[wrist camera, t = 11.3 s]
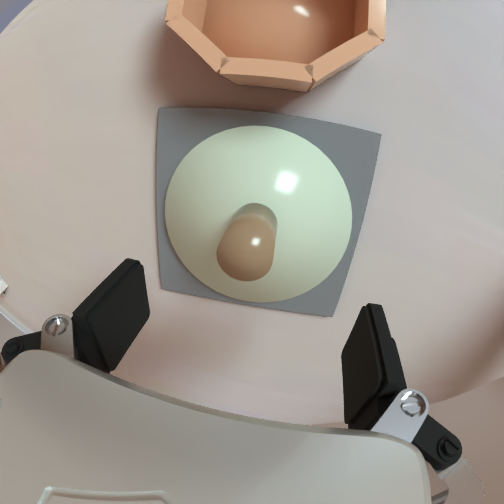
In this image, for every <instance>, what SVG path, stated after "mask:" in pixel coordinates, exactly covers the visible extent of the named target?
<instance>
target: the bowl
mask: <svg viewBox="0 0 504 504" xmlns="http://www.w3.org/2000/svg"><path fill="white" fill-rule="evenodd" d="M385 20H386V0H169V2H168V7H167V12H166V18H165V21H166V22H167V23H166V24H167V25H168V26H169V27H170V28H171V29H172V30H174V31H175V32H176V33H177V34H178V35H179V36H180V37H181V38H182V39H183V40H184V41H185V42H186V43H187V44H188V45H189V46H191V47H192V48H193V49H194V50H195V51H196V52H197V53H198V54H199V55H200V56H201V57H202V58H203V59H204V60H205V61H206V62H207V63H208V64H209V65H210V66H211V67H212V69H213V70H214V71H215V72H217V73H218V74H220V75H222V76H223V77H225V78H227V79H228V80H230V81H231V82H233V83H235V84H237V85H251V86H262V87H272V88H281V89H288V90H295V91H302V92H306V91H307V90H308V91H311V90H312V89H314V88H315V87H317V86H318V85H320V84H322V83H323V82H325V81H326V80H328V79H329V78H331V77H333V76H334V75H336V74H337V73H339V72H341V71H342V70H344V69H346V68H347V67H349V66H351V65H352V64H354V63H356V62H357V61H359V60H361V59H362V58H364V57H365V56H366V55H367V54H369V53H370V52H371V51H373V50H374V49H375V48H376V47H378V46H379V45H380V44H382V43H383V41H384V40H385Z"/></svg>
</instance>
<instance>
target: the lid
mask: <svg viewBox="0 0 504 504" xmlns="http://www.w3.org/2000/svg"><path fill="white" fill-rule="evenodd" d="M165 220H166V227H167V231H168V235H169V238H170V241H171V243H172V246H173V248H174V250H175V252H176V254H177V255H178V257H179V258H180V260H181V261H182V263H183V264H184V265H185V266H186V268H187V269H188V270H189V271H190V272H191V273H192V274H193V275H194V276H195V277H196V278H197V279H199V280H200V281H201V282H202V283H204V284H205V285H207V286H208V287H210V288H212V289H213V290H215V291H217V292H219V293H221V294H223V295H226V296H229V297H232V298H235V299H239V300H243V301H249V302H276V301H282V300H286V299H290V298H293V297H296V296H299V295H301V294H303V293H305V292H307V291H309V290H311V289H312V288H314V287H315V286H317V285H318V284H320V283H321V282H322V281H323V280H324V279H326V278H327V277H328V276H329V274H330V273H331V272H332V271H333V270H334V269H335V267H336V266H337V265H338V263H339V262H340V260H341V258H342V256H343V254H344V252H345V251H346V248H347V245H348V242H349V239H350V234H351V229H352V208H351V201H350V197H349V193H348V190H347V188H346V185H345V183H344V180H343V178H342V177H341V175H340V173H339V172H338V170H337V168H336V167H335V166H334V164H333V163H332V162H331V161H330V159H329V158H328V157H327V156H326V155H325V154H324V153H323V152H322V151H321V150H320V149H318V148H317V147H316V146H315V145H313V144H312V143H310V142H309V141H308V140H306V139H304V138H302V137H300V136H298V135H296V134H294V133H292V132H289V131H286V130H283V129H280V128H275V127H269V126H243V127H237V128H232V129H228V130H225V131H222V132H220V133H217V134H215V135H212V136H211V137H209V138H207V139H206V140H204V141H202V142H201V143H199V144H198V145H197V146H196V147H194V148H193V149H192V150H191V151H190V152H189V153H188V154H187V155H186V156H185V157H184V158H183V160H182V161H181V163H180V164H179V165H178V167H177V168H176V170H175V172H174V174H173V176H172V178H171V181H170V184H169V187H168V190H167V195H166V200H165Z"/></svg>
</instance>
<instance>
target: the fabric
mask: <svg viewBox="0 0 504 504" xmlns="http://www.w3.org/2000/svg"><path fill="white" fill-rule="evenodd" d="M7 287H8V285H7V284H6V283H5V281H4V280H3V279H2V277H1V275H0V295H4V294H5V293H3V292H5V291H6V288H7Z"/></svg>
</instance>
